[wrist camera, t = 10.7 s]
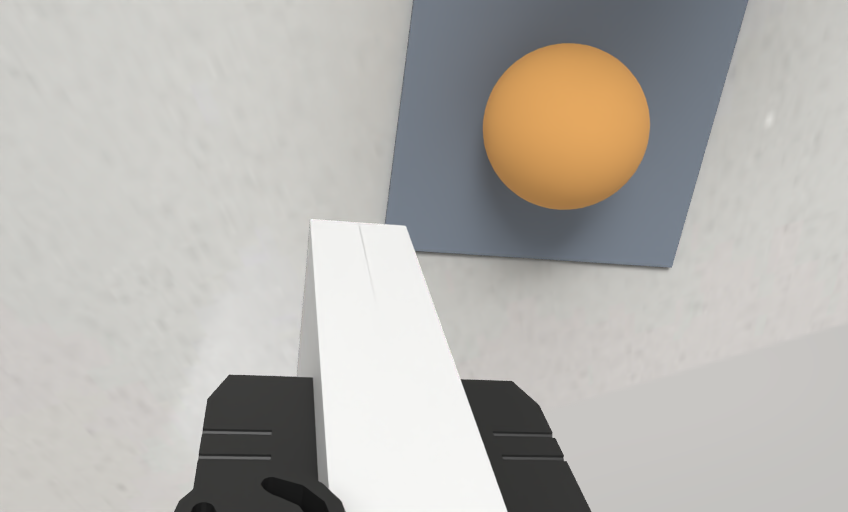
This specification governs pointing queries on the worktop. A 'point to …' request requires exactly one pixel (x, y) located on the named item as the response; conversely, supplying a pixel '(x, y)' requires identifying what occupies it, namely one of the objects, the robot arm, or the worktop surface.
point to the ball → (566, 126)
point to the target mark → (468, 95)
